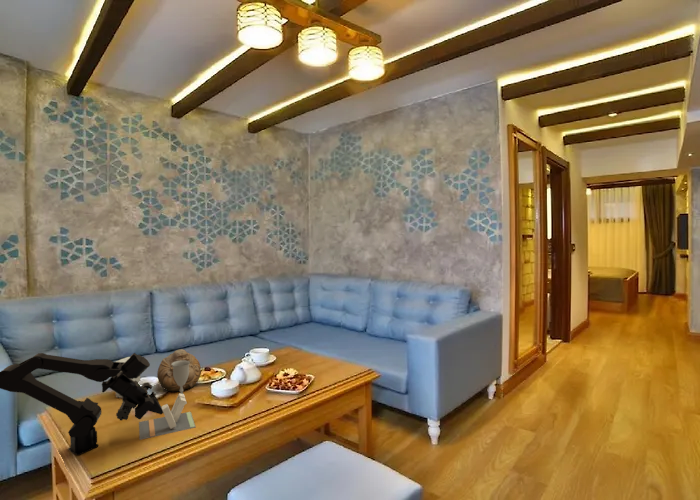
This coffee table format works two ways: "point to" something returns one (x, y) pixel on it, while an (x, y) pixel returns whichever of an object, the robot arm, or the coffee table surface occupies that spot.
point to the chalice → (181, 373)
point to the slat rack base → (161, 424)
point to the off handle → (168, 416)
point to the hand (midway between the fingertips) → (162, 412)
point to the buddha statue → (167, 371)
